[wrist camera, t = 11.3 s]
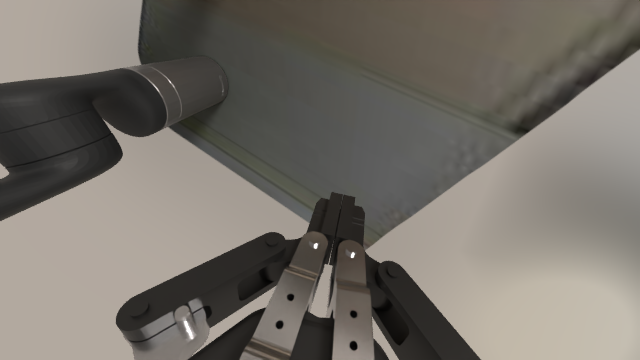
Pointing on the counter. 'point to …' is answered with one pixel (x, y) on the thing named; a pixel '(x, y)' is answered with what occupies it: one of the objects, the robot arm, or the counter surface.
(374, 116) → the counter surface
